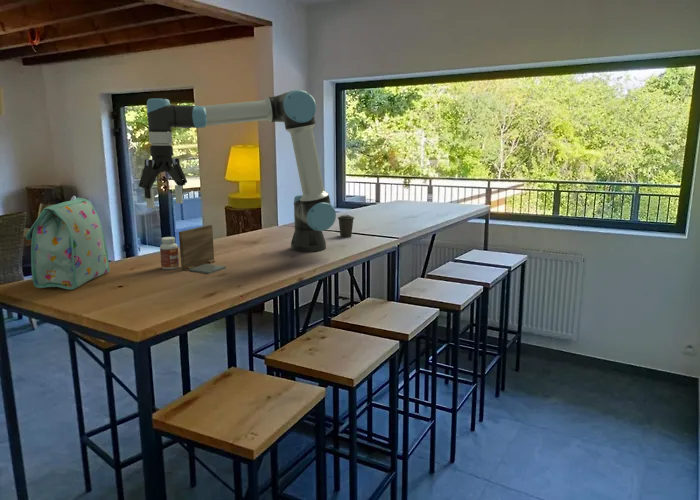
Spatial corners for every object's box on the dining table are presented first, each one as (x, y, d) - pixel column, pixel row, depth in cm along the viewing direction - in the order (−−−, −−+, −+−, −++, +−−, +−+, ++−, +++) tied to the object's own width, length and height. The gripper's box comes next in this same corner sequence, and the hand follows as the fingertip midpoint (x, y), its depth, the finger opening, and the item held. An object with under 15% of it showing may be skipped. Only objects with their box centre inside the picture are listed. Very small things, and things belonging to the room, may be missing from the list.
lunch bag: (69, 271, 180) (60, 195, 174) (115, 272, 180) (107, 196, 174) (27, 290, 158) (15, 204, 152) (79, 291, 158) (69, 205, 152)
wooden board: (216, 261, 196) (214, 225, 192) (187, 271, 181) (184, 232, 178) (208, 260, 197) (206, 224, 194) (178, 269, 183) (176, 231, 180)
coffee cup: (345, 238, 239) (345, 217, 237) (334, 236, 245) (334, 215, 243) (357, 236, 245) (357, 215, 242) (346, 233, 251) (346, 213, 248)
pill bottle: (172, 270, 182) (169, 240, 180) (157, 269, 184) (155, 239, 182) (182, 266, 188) (180, 237, 186) (168, 264, 190) (166, 235, 187)
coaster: (225, 267, 186) (225, 266, 186) (209, 273, 178) (209, 272, 178) (206, 265, 190) (206, 263, 189) (189, 270, 182) (189, 269, 182)
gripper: (179, 144, 189) (182, 200, 194) (124, 145, 167) (129, 208, 172) (194, 144, 186) (198, 202, 191) (140, 145, 164) (145, 210, 169)
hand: (165, 205), depth 181 cm, fingers open, 13 cm apart
